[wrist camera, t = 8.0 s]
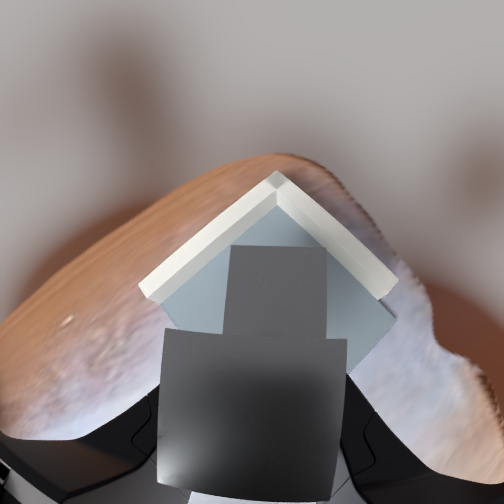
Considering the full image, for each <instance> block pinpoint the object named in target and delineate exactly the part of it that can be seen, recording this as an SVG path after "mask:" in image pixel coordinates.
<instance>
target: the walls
mask: <svg viewBox="0 0 504 504" xmlns="http://www.w3.org/2000/svg"><path fill="white" fill-rule="evenodd" d="M277 205H278V206H279V207H280V208H281V209H282V210H284V211H285V212H286V213H287V214H288V215H289V216H290V217H291V218H292V219H294V220H295V221H296V222H297V223H298V224H299V225H300V226H301V227H302V228H303V229H304V230H306V231H307V232H308V233H309V234H310V235H311V236H312V237H313V238H314V239H315V240H316V241H317V242H318V243H320V244H321V245H322V246H323V247H326V250H327V251H328V252H329V253H330V254H331V255H332V256H333V257H334V258H335V259H336V260H337V261H338V262H339V263H341V264H342V265H343V266H344V267H345V268H346V269H347V270H348V271H349V272H350V273H351V274H352V275H353V276H354V277H355V278H356V279H357V280H358V281H359V282H360V283H361V284H362V285H363V286H364V287H365V288H366V289H367V290H368V291H369V292H370V293H371V294H372V295H373V296H374V297H375V298H376V299H377V300H379V299H380V298H382V297H383V296H385V295H387V294H388V293H389V292H390V291H391V289H392V288H393V287H394V286H395V285H396V283H397V282H398V281H399V279H398V278H397V277H396V276H395V275H394V274H393V273H392V272H391V271H390V270H389V269H388V268H387V267H386V266H385V265H384V264H383V263H382V262H381V261H380V260H379V259H378V258H377V257H376V256H375V255H374V254H373V253H372V252H371V251H370V250H369V249H367V248H366V247H365V246H364V245H363V244H362V243H361V242H360V241H359V240H358V239H357V238H356V237H355V236H354V235H353V234H351V233H350V232H349V231H348V230H347V229H346V228H345V227H344V226H343V225H342V224H340V223H339V222H338V221H337V220H336V219H335V218H334V217H333V216H331V215H330V214H329V213H328V212H327V211H326V210H325V209H323V208H322V207H321V206H320V205H319V204H318V203H316V202H315V201H314V200H313V199H312V198H311V197H309V196H308V195H307V194H306V193H305V192H303V191H302V190H301V189H300V188H299V187H297V186H296V185H295V184H294V183H292V182H291V181H290V180H289V179H288V178H286V177H285V176H284V175H283V174H281V173H280V172H279V171H278V170H276V171H275V172H274V173H272V174H271V175H270V176H268V177H267V178H266V179H264V180H263V181H262V182H260V183H259V184H258V185H257V186H255V187H254V188H253V189H251V190H250V191H249V192H248V193H246V194H245V195H244V196H243V197H241V198H240V199H239V200H237V201H236V202H235V203H234V204H232V205H231V206H230V207H229V208H227V209H226V210H225V211H224V212H222V213H221V214H220V215H219V216H218V217H216V218H215V219H214V220H213V221H211V222H210V223H209V224H208V225H207V226H205V227H204V228H203V229H202V230H200V231H199V232H198V233H197V234H196V235H195V236H193V237H192V238H191V239H190V240H189V241H187V242H186V243H185V244H184V245H183V246H181V247H180V248H179V249H178V250H177V251H176V252H174V253H173V254H172V255H171V256H170V257H169V258H167V259H166V260H165V261H164V262H163V263H162V264H161V265H159V266H158V267H157V268H156V269H155V270H154V271H153V272H151V273H150V274H149V275H148V276H147V277H146V278H145V279H144V280H143V281H141V282H140V283H139V284H138V285H139V287H140V289H141V290H142V292H143V293H144V295H145V296H146V298H147V299H150V300H152V301H154V302H156V303H158V304H161V303H162V302H163V301H165V300H166V299H167V298H168V297H169V296H170V295H171V294H173V293H174V292H175V291H176V290H177V289H178V288H180V287H181V286H182V285H183V284H184V283H185V282H186V281H188V280H189V279H190V278H191V277H192V276H193V275H195V274H196V273H197V272H198V271H199V270H200V269H202V268H203V267H204V266H205V265H206V264H207V263H209V262H210V261H211V260H212V259H213V258H214V257H216V256H217V255H218V254H219V253H220V252H222V251H223V250H224V249H225V248H226V247H227V246H229V245H230V244H231V243H232V242H233V241H235V240H236V239H237V238H238V237H239V236H241V235H242V234H243V233H244V232H245V231H246V230H248V229H249V228H250V227H251V226H252V225H254V224H255V223H256V222H257V221H258V220H260V219H261V218H262V217H263V216H265V215H266V214H267V213H268V212H269V211H271V210H272V209H273V208H274V207H275V206H277Z"/></svg>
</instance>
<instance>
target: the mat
mask: <svg viewBox="0 0 504 504" xmlns="http://www.w3.org/2000/svg"><path fill="white" fill-rule="evenodd" d="M231 245H254V246H292V247H323V246H322V245H321V244H320V243H318V242H317V241H316V240H315V239H314V238H313V237H312V236H311V235H310V234H309V233H308V232H307V231H306V230H304V229H303V228H302V227H301V226H300V225H299V224H298V223H297V222H296V221H295V220H294V219H292V218H291V217H290V216H289V215H288V214H287V213H286V212H285V211H284V210H282V209H281V208H280V207H279V206H278V205H277V206H275V207H274V208H273V209H272V210H271V211H269V212H268V213H267V214H266V215H265V216H263V217H262V218H261V219H260V220H258V221H257V222H256V223H255V224H254V225H252V226H251V227H250V228H249V229H248V230H246V231H245V232H244V233H243V234H242V235H241V236H239V237H238V238H237V239H236V240H235V241H233V242H232V243H231V244H230V245H229V246H227V247H226V248H225V249H224V250H223V251H222V252H220V253H219V254H218V255H217V256H216V257H214V258H213V259H212V260H211V261H210V262H209V263H207V264H206V265H205V266H204V267H203V268H202V269H200V270H199V271H198V272H197V273H196V274H195V275H193V276H192V277H191V278H190V279H189V280H188V281H186V282H185V283H184V284H183V285H182V286H181V287H180V288H178V289H177V290H176V291H175V292H174V293H173V294H171V295H170V296H169V297H168V298H167V299H166V300H165V301H163V302H162V303H161V304H160V305H161V307H162V308H163V310H164V311H165V312H166V314H167V315H168V316H169V318H170V319H171V321H172V322H173V323H174V325H175V326H176V327H177V329H178V330H185V331H194V332H203V333H213V334H222V332H223V321H224V310H225V300H226V289H227V279H228V269H229V259H230V250H231ZM326 256H327V333H326V339H347V365H346V373H347V374H349V373H350V372H351V370H352V369H353V368H354V367H355V366H356V365H357V364H358V363H359V362H360V361H361V360H362V359H363V358H364V357H365V356H366V355H367V354H368V353H369V352H370V351H371V349H372V348H373V347H374V346H375V345H376V344H377V343H378V342H379V341H380V339H381V338H382V337H383V336H384V335H385V334H386V332H387V331H388V330H389V329H390V328H391V327H392V325H393V324H394V323H395V322H396V319H395V318H394V317H393V316H392V315H391V314H390V313H389V312H388V311H387V310H386V309H385V307H384V306H383V305H382V304H381V303H380V302H379V301H378V300H377V299H376V298H375V297H374V296H373V295H372V294H371V293H370V292H369V291H368V290H367V289H366V288H365V287H364V286H363V285H362V284H361V283H360V282H359V281H358V280H357V279H356V278H355V277H354V276H353V275H352V274H351V273H350V272H349V271H348V270H347V269H346V268H345V267H344V266H343V265H342V264H341V263H339V262H338V261H337V260H336V259H335V258H334V257H333V256H332V255H331V254H330V253H329V252H328V251H327V250H326Z"/></svg>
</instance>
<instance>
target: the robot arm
mask: <svg viewBox="0 0 504 504" xmlns="http://www.w3.org/2000/svg"><path fill="white" fill-rule="evenodd" d="M159 390H160V384H159V385H158V386H157V387H156V388H154V389H153V390H152V391H151V392H149V393H148V394H147V396H144V397H143V398H142V399H141V400H140V401H138V402H137V403H136V404H134V405H133V406H132V407H130V408H129V409H128V410H126V411H125V412H123V413H122V414H120V415H119V416H117V417H116V418H114V419H112V420H111V421H109V422H108V423H106V424H104V425H103V426H101V427H99V428H97V429H96V430H94V431H92V432H91V433H89V434H87V435H85V436H83V437H80V438H77V439H73V440H22V439H15V438H11V437H9V436H6V435H5V434H3V433H2V432H1V431H0V458H1V459H2V460H3V461H4V462H5V463H6V464H7V465H8V466H9V467H10V468H11V469H9V468H8V467H7V466H6V465H5V464H3V463H2V462H1V461H0V504H188V500H189V498H190V495H191V492H192V491H189V490H185V489H181V488H177V487H173V486H169V485H165V484H162V483H159V482H157V430H158V407H159ZM374 411H375V410H374V408H373V407H372V406H371V404H370V403H369V402H368V400H367V399H366V398H365V396H364V395H363V394H362V392H361V391H360V390H359V388H358V387H357V386H356V384H355V383H354V382H353V381H352V379H351V378H350V377H349V375H348V374H347V373H346V383H345V397H344V409H343V419H342V428H341V437H340V444H339V452H338V459H337V465H336V471H335V477H334V483H333V488H332V493H331V498H330V501H324V502H316V504H504V482H503V483H499V484H483V483H478V482H473V481H468V480H463V479H459V478H455V477H451V476H447V475H443V474H440V473H437V472H435V471H433V470H432V469H430V468H429V467H427V466H426V465H425V464H424V463H423V462H422V461H421V460H420V459H419V458H418V457H416V456H415V455H414V454H413V453H412V452H411V451H410V450H409V449H408V448H407V447H406V446H405V445H404V444H403V443H402V442H401V441H400V440H399V438H398V437H397V436H396V435H395V434H394V433H393V432H392V431H391V430H390V429H389V427H388V426H387V425H386V424H385V423H384V421H383V420H382V419H381V417H380V416H379V415H378V413H377V412H374Z"/></svg>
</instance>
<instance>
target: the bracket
mask: <svg viewBox="0 0 504 504" xmlns="http://www.w3.org/2000/svg"><path fill="white" fill-rule="evenodd" d="M326 333H327V256H326V247H292V246H254V245H231V250H230V259H229V269H228V279H227V289H226V300H225V310H224V321H223V332H222V334H213V333H203V332H194V331H185V330H176V329H168V328H165V335H164V344H163V354H162V364H161V376H160V390H159V407H158V430H157V482H159V483H162V484H165V485H169V486H173V487H177V488H181V489H185V490H189V491H194V492H198V493H203V494H209V495H214V496H220V497H227V498H234V499H243V500H253V501H266V502H324V501H330V498H331V493H332V488H333V483H334V477H335V471H336V465H337V459H338V452H339V444H340V437H341V428H342V419H343V409H344V397H345V383H346V365H347V339H326Z"/></svg>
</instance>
